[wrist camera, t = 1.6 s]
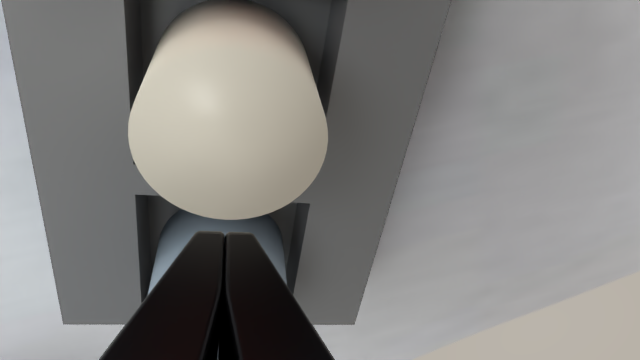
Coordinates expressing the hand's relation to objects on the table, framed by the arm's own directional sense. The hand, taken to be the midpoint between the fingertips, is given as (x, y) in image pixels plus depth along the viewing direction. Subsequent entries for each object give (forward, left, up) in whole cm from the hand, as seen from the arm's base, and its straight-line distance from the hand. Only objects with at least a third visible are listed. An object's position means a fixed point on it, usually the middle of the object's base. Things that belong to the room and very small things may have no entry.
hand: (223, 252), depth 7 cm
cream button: (0, 0, -7) cm, 7 cm away
